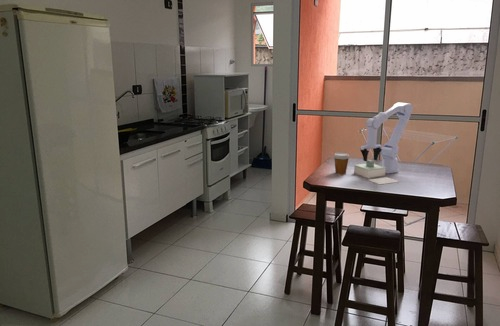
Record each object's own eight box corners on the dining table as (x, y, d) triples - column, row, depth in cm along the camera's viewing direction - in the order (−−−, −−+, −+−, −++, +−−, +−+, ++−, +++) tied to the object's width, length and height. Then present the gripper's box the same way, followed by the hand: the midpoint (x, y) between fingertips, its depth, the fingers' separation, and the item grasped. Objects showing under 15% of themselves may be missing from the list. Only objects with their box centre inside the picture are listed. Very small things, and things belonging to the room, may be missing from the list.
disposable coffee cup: (348, 175, 253) (349, 156, 250) (332, 174, 255) (333, 155, 252) (348, 171, 262) (349, 152, 259) (332, 170, 264) (333, 152, 261)
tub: (370, 171, 263) (371, 164, 262) (385, 176, 252) (385, 168, 250) (354, 173, 258) (354, 166, 257) (367, 178, 246) (368, 171, 245)
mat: (387, 177, 248) (387, 177, 248) (399, 182, 239) (399, 181, 239) (368, 180, 242) (368, 179, 242) (379, 184, 233) (379, 184, 233)
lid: (371, 165, 262) (371, 157, 261) (385, 170, 251) (386, 161, 249) (354, 167, 257) (354, 159, 256) (368, 172, 246) (368, 163, 244)
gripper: (376, 136, 256) (375, 158, 259) (357, 138, 250) (356, 160, 253) (384, 138, 250) (383, 160, 253) (365, 140, 244) (363, 162, 247)
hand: (370, 160), depth 253 cm, fingers open, 7 cm apart
